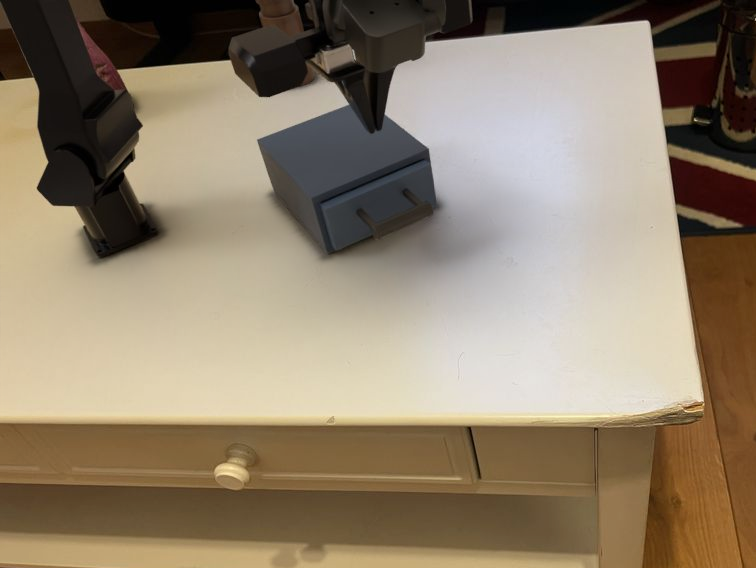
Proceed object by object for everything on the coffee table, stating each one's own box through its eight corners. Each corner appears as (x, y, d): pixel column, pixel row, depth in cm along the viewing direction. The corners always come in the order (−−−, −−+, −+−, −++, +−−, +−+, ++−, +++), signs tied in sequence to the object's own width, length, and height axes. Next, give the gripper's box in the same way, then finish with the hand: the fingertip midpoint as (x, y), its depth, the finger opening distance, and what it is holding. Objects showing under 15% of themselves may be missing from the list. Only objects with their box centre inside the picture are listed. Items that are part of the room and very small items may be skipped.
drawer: (461, 226, 71) (456, 184, 67) (357, 274, 67) (346, 232, 63) (379, 155, 81) (371, 115, 78) (285, 194, 77) (272, 154, 74)
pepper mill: (321, 78, 98) (293, -34, 88) (287, 91, 96) (255, -22, 86) (306, 66, 101) (277, -44, 91) (272, 78, 99) (240, -32, 89)
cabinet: (437, 205, 75) (429, 148, 70) (327, 254, 71) (311, 198, 66) (375, 152, 83) (364, 98, 79) (274, 193, 79) (256, 139, 74)
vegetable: (113, 113, 103) (80, -4, 96) (153, 120, 98) (122, -4, 90) (38, 129, 96) (-3, 4, 89) (78, 138, 91) (37, 5, 83)
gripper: (252, 0, 44) (315, 215, 55) (506, -80, 50) (516, 128, 61) (194, -44, 50) (260, 155, 62) (423, -109, 56) (446, 82, 68)
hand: (373, 130), depth 63 cm, fingers closed
